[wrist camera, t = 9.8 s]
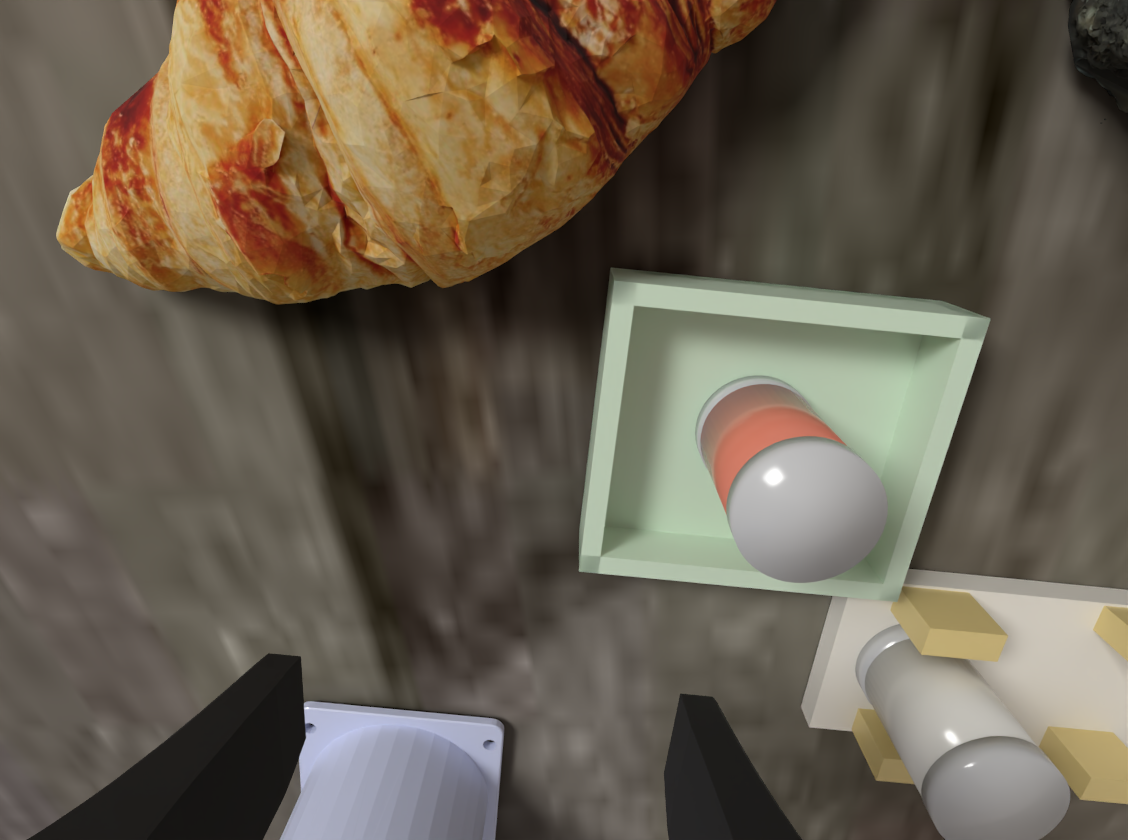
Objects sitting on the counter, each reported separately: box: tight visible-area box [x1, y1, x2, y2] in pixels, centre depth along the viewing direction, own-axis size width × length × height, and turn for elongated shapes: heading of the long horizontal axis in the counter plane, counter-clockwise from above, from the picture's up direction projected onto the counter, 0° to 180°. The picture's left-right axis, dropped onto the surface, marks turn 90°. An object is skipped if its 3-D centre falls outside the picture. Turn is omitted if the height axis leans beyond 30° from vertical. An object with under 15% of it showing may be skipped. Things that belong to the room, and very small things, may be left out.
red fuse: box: [695, 375, 888, 583], centre depth 18 cm, size 4×4×6 cm
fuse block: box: [801, 569, 1128, 804], centre depth 23 cm, size 6×20×3 cm, turn 84°
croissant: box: [56, 0, 776, 304], centre depth 16 cm, size 21×10×8 cm, turn 114°
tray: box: [579, 267, 990, 602], centre depth 20 cm, size 9×10×2 cm
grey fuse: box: [855, 624, 1070, 840], centre depth 21 cm, size 4×4×6 cm
